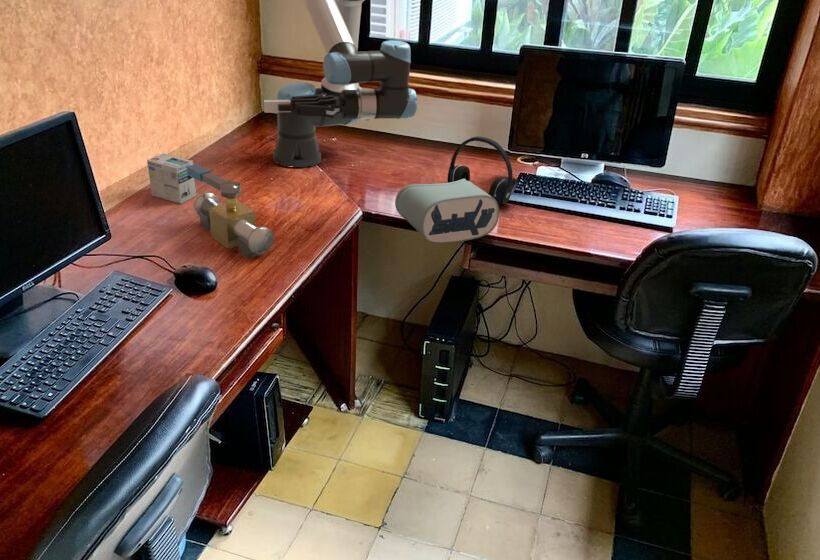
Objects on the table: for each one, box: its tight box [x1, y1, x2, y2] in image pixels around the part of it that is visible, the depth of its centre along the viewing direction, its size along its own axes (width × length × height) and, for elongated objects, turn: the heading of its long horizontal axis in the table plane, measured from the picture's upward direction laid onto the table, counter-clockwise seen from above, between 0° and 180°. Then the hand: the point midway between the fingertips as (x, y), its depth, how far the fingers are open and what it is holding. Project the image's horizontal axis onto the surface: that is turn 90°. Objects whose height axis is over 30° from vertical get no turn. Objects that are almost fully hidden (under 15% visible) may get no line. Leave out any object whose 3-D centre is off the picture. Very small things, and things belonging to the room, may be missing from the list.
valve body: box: [193, 191, 275, 259], centre depth 183 cm, size 26×8×12 cm, turn 44°
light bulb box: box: [146, 152, 197, 205], centre depth 202 cm, size 11×7×11 cm, turn 65°
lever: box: [187, 163, 242, 199], centre depth 183 cm, size 19×5×2 cm, turn 48°
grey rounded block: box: [394, 179, 500, 245], centre depth 195 cm, size 22×19×13 cm
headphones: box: [447, 136, 514, 206], centre depth 213 cm, size 20×7×18 cm, turn 55°
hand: (264, 106), depth 183 cm, fingers closed
